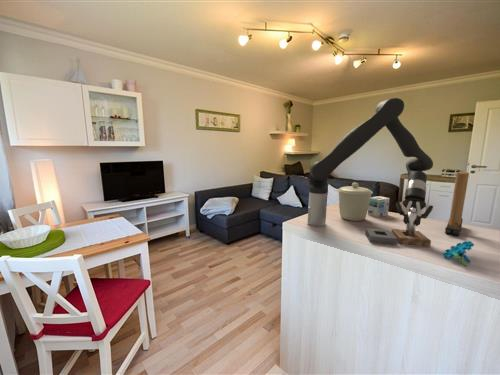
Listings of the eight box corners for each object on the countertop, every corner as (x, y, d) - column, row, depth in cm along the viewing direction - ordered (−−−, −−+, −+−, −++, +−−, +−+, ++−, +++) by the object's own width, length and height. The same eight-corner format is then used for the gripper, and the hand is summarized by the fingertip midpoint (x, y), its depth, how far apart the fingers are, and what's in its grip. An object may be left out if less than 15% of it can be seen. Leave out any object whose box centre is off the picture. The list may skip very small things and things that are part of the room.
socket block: (370, 242, 96) (370, 236, 95) (365, 234, 105) (365, 228, 105) (396, 245, 93) (397, 238, 92) (388, 236, 102) (389, 230, 102)
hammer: (458, 241, 102) (468, 179, 93) (443, 238, 105) (452, 178, 96) (462, 224, 115) (472, 167, 106) (449, 221, 118) (457, 167, 109)
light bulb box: (377, 217, 130) (379, 199, 128) (366, 214, 136) (368, 197, 134) (388, 215, 135) (390, 197, 133) (377, 212, 141) (379, 195, 139)
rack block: (399, 244, 94) (400, 237, 93) (390, 234, 104) (391, 228, 104) (429, 247, 91) (430, 240, 90) (418, 237, 101) (418, 231, 101)
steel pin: (407, 235, 96) (410, 209, 94) (404, 233, 99) (407, 207, 97) (415, 236, 95) (419, 209, 93) (412, 233, 98) (416, 207, 96)
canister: (376, 223, 119) (380, 185, 116) (342, 223, 120) (345, 185, 116) (360, 214, 137) (363, 180, 133) (331, 213, 137) (333, 180, 134)
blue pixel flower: (443, 246, 88) (471, 235, 81) (456, 259, 86) (486, 250, 79) (438, 259, 81) (468, 248, 74) (452, 274, 79) (484, 264, 72)
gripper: (397, 185, 104) (391, 216, 96) (436, 188, 95) (433, 223, 88) (397, 194, 109) (391, 225, 101) (434, 198, 100) (431, 232, 93)
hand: (411, 224), depth 95 cm, fingers closed on steel pin, 3 cm apart
